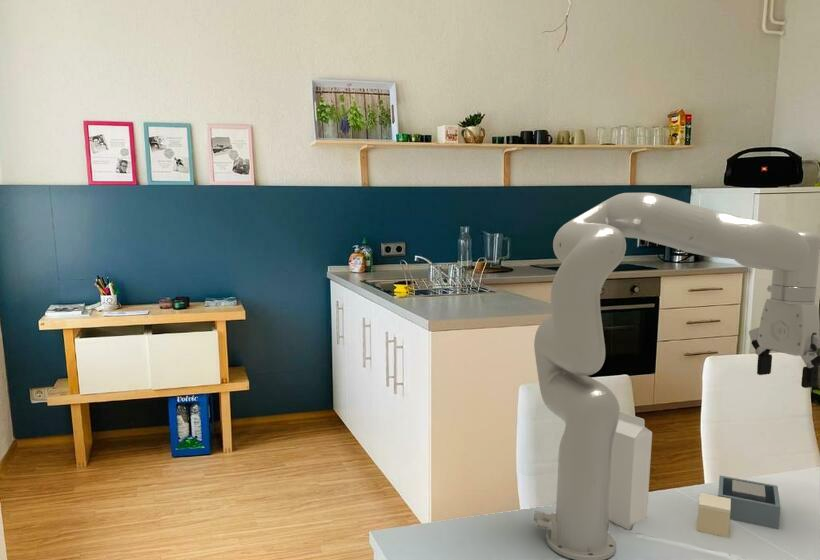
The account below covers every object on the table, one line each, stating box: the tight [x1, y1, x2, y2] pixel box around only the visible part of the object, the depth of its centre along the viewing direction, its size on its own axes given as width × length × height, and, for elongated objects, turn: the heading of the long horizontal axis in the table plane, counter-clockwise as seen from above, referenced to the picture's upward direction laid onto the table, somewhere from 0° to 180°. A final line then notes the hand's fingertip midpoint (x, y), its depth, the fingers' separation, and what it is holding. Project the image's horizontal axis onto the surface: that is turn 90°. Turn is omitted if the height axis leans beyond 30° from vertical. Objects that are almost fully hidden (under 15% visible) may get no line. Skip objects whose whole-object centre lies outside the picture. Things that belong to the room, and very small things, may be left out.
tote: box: [717, 474, 781, 530], centre depth 135 cm, size 11×11×6 cm
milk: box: [608, 411, 653, 531], centre depth 131 cm, size 6×6×22 cm
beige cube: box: [696, 492, 731, 538], centre depth 128 cm, size 6×6×6 cm
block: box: [731, 480, 766, 503], centre depth 135 cm, size 6×6×5 cm
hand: (785, 380), depth 129 cm, fingers open, 9 cm apart
